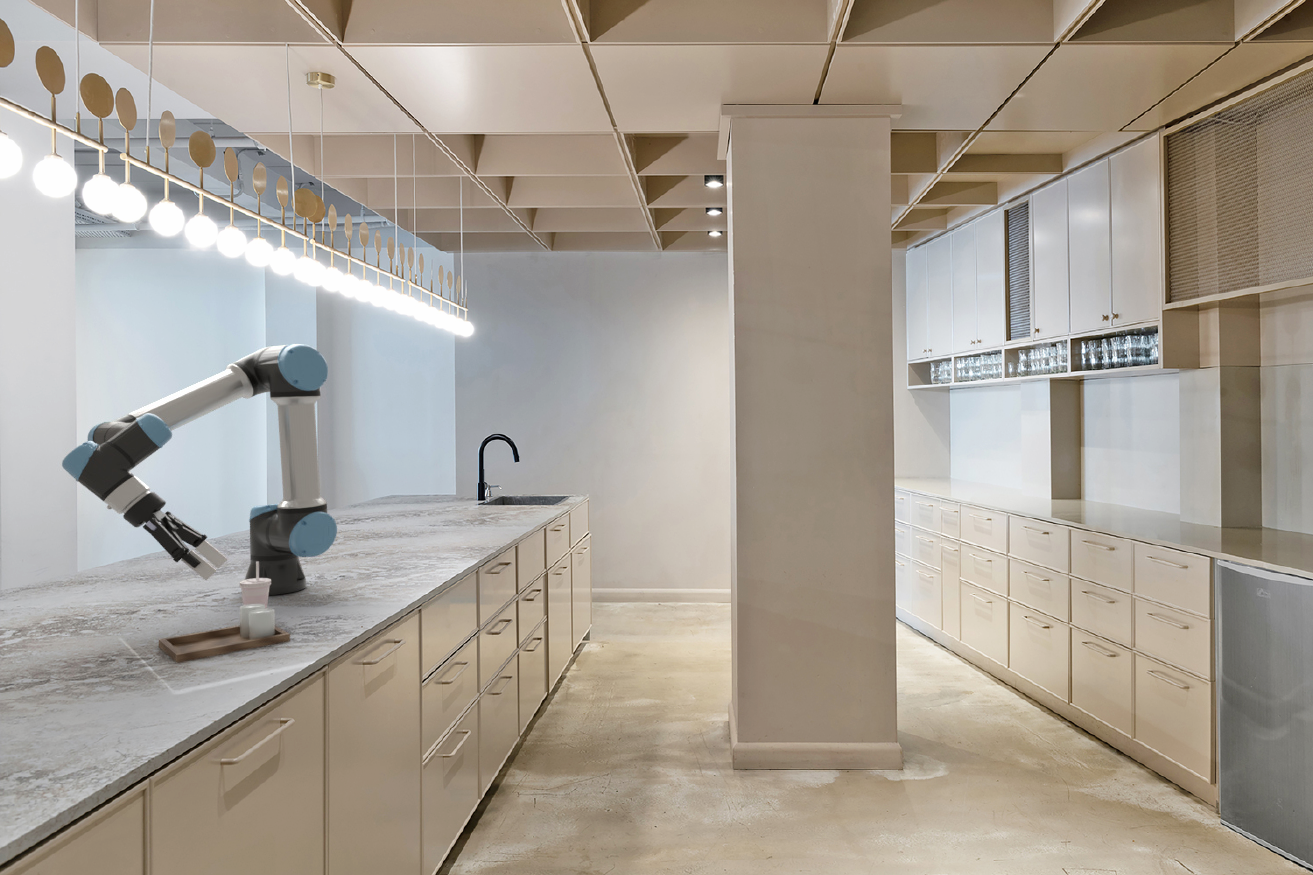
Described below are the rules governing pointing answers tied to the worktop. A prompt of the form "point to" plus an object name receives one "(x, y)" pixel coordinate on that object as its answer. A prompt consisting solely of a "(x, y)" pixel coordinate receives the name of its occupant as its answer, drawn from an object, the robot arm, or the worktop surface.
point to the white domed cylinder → (261, 623)
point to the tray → (215, 643)
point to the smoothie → (255, 589)
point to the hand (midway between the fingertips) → (217, 569)
